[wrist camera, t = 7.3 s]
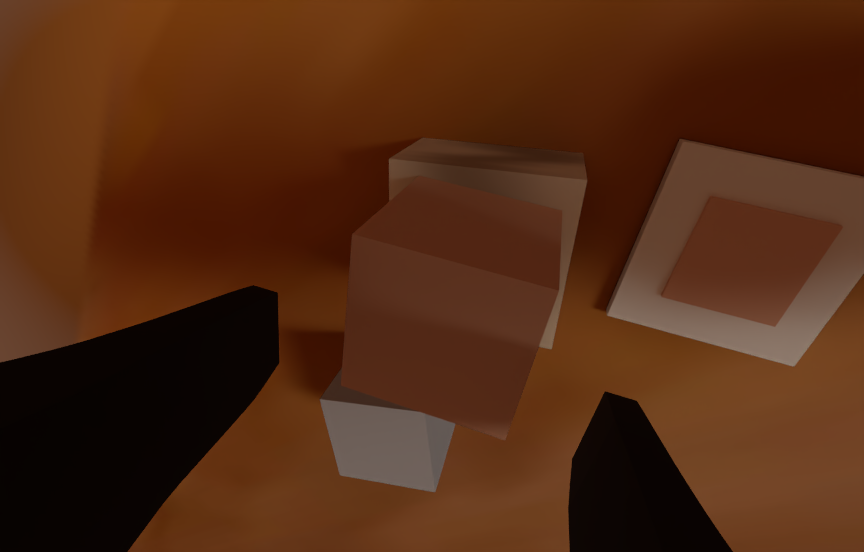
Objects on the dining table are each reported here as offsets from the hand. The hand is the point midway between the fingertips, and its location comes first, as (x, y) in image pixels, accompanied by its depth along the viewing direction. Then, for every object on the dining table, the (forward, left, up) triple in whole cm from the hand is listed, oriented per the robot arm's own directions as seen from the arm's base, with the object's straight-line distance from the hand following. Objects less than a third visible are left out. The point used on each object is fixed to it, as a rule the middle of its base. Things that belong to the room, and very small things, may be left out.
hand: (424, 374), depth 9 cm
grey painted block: (+2, +9, -10) cm, 13 cm away
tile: (-9, -1, -10) cm, 13 cm away
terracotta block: (0, 0, -6) cm, 6 cm away
